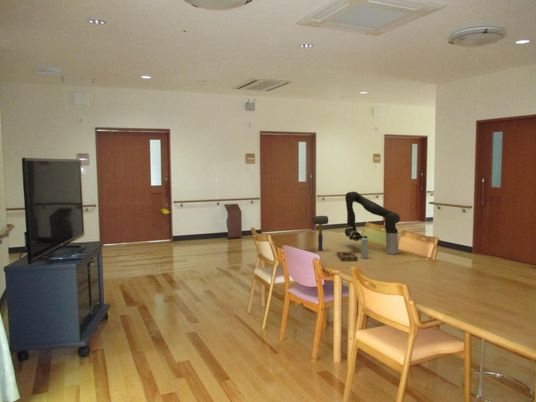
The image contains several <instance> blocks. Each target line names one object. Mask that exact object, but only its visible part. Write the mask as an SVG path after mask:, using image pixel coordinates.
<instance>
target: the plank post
mask: <svg viewBox="0 0 536 402" xmlns="http://www.w3.org/2000/svg"><path fill="white" fill-rule="evenodd" d="M360 243H361V245H360V258H361V259H368V258H369V239H368V237H367V238H361V240H360Z"/></svg>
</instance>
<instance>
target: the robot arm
mask: <svg viewBox="0 0 536 402" xmlns="http://www.w3.org/2000/svg"><path fill="white" fill-rule="evenodd" d="M354 203H356V204H359V205H361V206H362V208H364V210H365V211H366V212H368V213H370V214H372V215H375V216H379V217H382V218H384V229H385V254H387V255H398V254H399V242H398V239H399V236H398V235H399V234H398V233H399V231H398V228H396V224H398V223H399V222H400V221H401V219H400V218H401V217H400V215H399V214H398V213H396V212H394V211H391V210H389V209H387V208H385V207H383V206H382V205H380V204H378V203H377V202H374V201H372V200H370V199H369V198H367V197H365V196H363V195H362V194H360V193H358V192H357V191H349V192H347V193H346V194H345V206H346V216H347V217H346V218H347V219H346V223H347V224H346V225H347V226H350V227H348V228H347V227H346V228H345V230H344V235H345V236H346V237H348V238H349V240H350V241H356V242H359V241H361V238H367V239H368V236H367V235H361V233H360V232H359V231H358V230H357V226H356V213H355V211H354Z"/></svg>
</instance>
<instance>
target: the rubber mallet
mask: <svg viewBox="0 0 536 402" xmlns="http://www.w3.org/2000/svg"><path fill="white" fill-rule="evenodd" d="M328 223H329V217H328V216H327V215H317V216H316V215H315V216H312V225H318V235H317V237H318V239H317V241H318V247H317V250H318V251H319V252H321V251H323V249H324V248H323V240H324V239H323V238H324V237H323V225H328Z"/></svg>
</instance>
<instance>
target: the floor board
mask: <svg viewBox="0 0 536 402" xmlns="http://www.w3.org/2000/svg"><path fill="white" fill-rule="evenodd" d="M336 257H337V258H338V259H339V260H340V261H341V262H358V260H359V259H358V256H357V255H356V254H355V253H354V252H353V251H336Z"/></svg>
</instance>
